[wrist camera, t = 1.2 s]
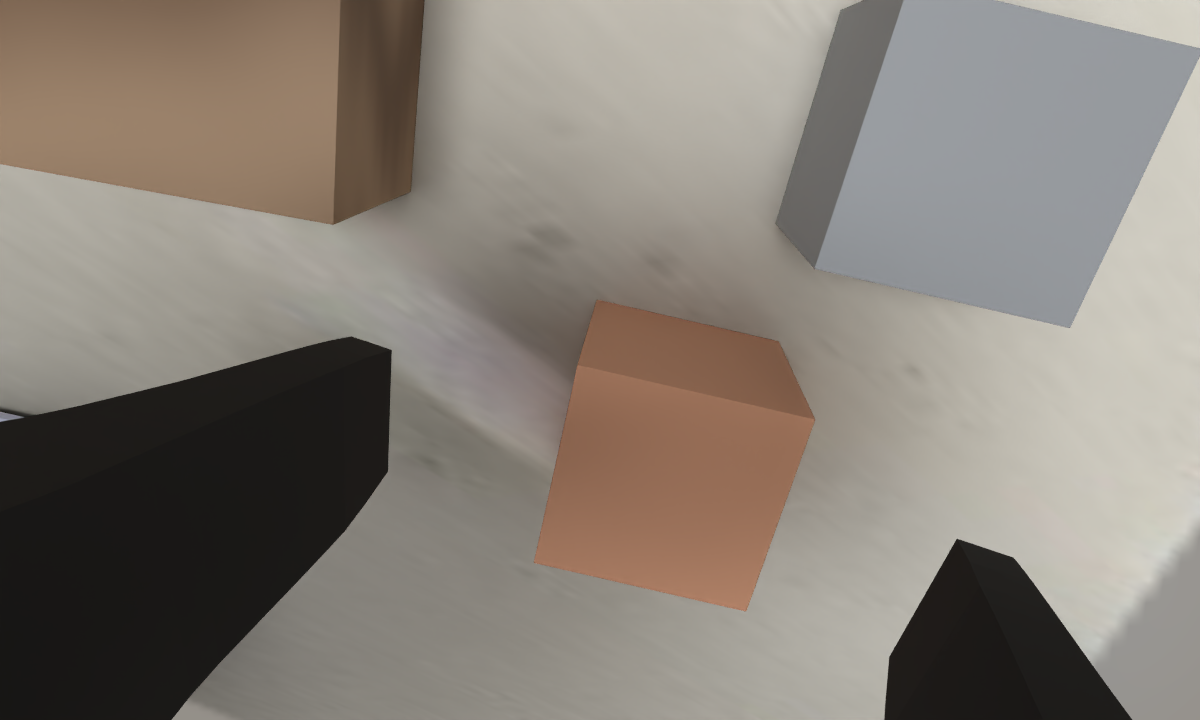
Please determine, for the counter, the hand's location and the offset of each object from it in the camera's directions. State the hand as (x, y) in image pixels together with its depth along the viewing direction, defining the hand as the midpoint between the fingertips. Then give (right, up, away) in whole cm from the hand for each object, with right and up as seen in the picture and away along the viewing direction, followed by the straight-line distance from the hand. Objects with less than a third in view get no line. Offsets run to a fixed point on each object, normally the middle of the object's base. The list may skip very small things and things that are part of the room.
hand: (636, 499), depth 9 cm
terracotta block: (+1, +1, +11) cm, 11 cm away
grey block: (+7, +7, +9) cm, 13 cm away
